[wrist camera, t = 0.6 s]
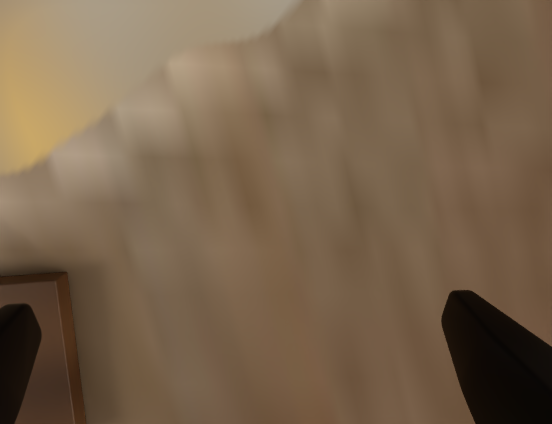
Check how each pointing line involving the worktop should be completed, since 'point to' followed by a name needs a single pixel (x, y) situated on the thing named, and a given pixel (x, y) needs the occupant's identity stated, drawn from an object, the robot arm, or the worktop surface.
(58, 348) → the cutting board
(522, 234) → the worktop surface
